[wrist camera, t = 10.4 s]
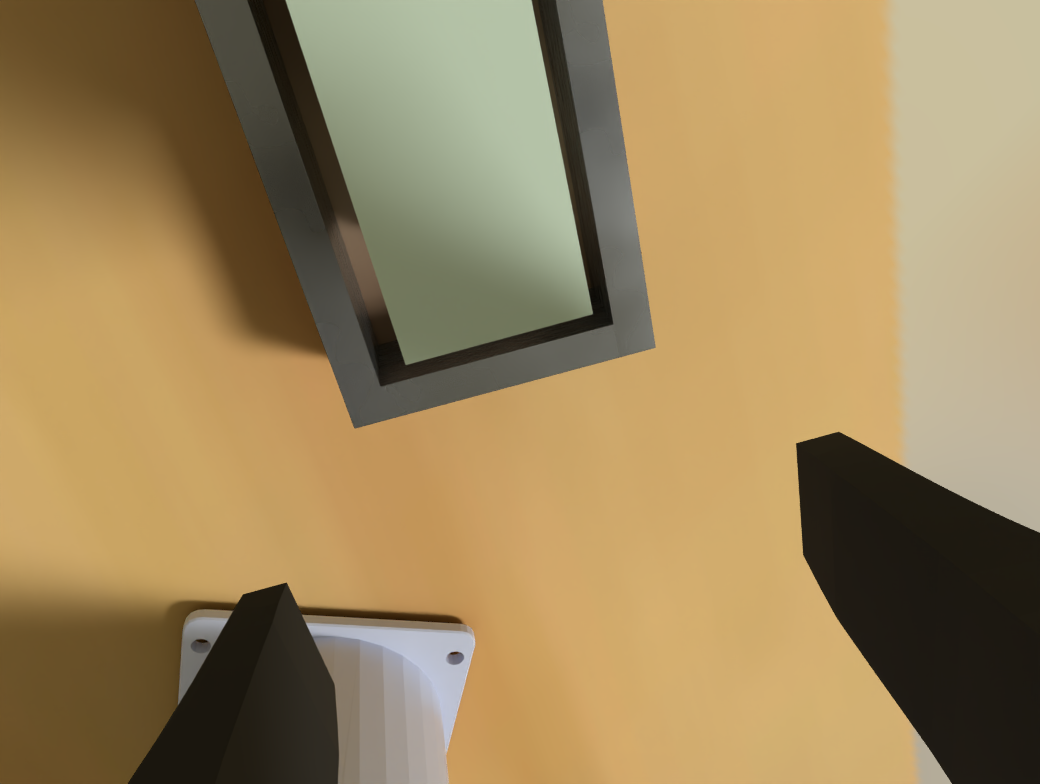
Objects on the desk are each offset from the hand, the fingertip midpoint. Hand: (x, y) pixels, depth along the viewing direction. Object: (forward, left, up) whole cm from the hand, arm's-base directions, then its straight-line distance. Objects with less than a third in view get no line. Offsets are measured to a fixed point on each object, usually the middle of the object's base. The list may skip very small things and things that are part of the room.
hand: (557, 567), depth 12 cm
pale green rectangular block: (+6, +3, -9) cm, 11 cm away
